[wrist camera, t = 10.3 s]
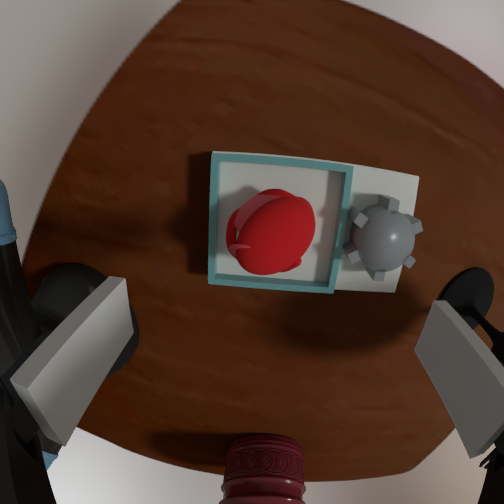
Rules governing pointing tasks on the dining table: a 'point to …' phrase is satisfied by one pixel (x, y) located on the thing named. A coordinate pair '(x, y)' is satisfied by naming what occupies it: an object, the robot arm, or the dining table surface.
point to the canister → (264, 471)
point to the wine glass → (475, 303)
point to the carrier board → (319, 221)
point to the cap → (271, 232)
